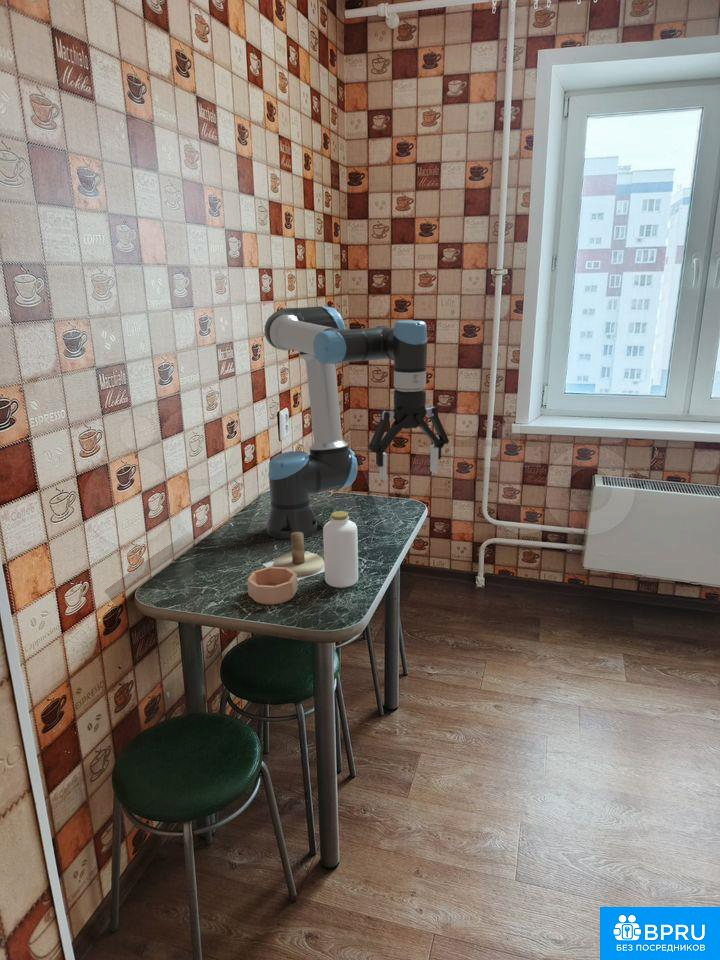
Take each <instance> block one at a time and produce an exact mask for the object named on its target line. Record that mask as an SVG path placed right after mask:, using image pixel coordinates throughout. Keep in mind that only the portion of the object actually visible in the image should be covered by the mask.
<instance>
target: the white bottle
mask: <svg viewBox="0 0 720 960" xmlns="http://www.w3.org/2000/svg"><path fill="white" fill-rule="evenodd" d="M322 536H323V537H322V538H323V540H322V541H323V542H322V543H323V561H324V569H325V572H324V580H325V582H326V584H327V585H328V586H330V587H333V588H340V589H341V588H343V589H344V588H349V587H352V586H353V585H355V584H356V583H357V582H358V581H359V550H358V549H359V545H358V544H359V543H358V541H359V539H358V527H357V524H356V523H355V522H354V521H352V520H350V516H349V513H348V512H347V511H344V510H339V511H333V512H332V513H331V514H330V520H329V521H328V522H326V523H325V524H323V529H322Z"/></svg>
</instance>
